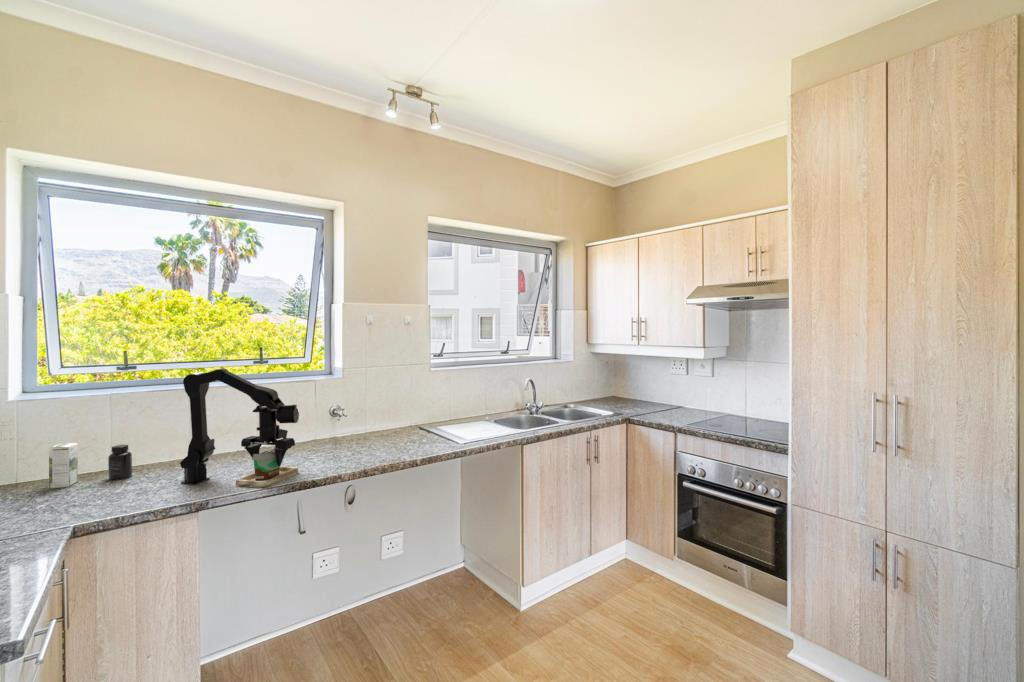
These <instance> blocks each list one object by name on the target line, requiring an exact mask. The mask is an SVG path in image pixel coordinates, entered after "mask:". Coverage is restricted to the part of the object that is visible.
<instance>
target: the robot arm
mask: <svg viewBox="0 0 1024 682" xmlns="http://www.w3.org/2000/svg"><path fill="white" fill-rule="evenodd" d="M216 381H219V382H221V383H223V384H225V385H227V386H229V387H231V388H233V389H235V390H237V391H239V392H241V393H244V394H245V395H247V396H248V397H250V399H251V401H253V402H255V403H256V404H257V405H256V407H255V408H254V409H253V410H252V413H258V426H257V427H256V431H258V432H259V433H258V435H257V436H256V435H251V436H247V437H244V438H242V440H241V441H240V444H241V447H244V450H246V451H247V453H248V454H249V455H250V457H251V458H252V459H253V454H260V449H261V447H262V445H265V446H274V447H276V448H277V449H275V454H276V461H277V465H278V466H281V465H282V463H283V461H284V457H285V455H286V452H287V451H288V450H289V449H291V448H292V447H294V446H295V445H296V440H295V439H294V438H293V437H288V432H289V431H288V430H287V429H282V428H280V425H279V424H297V423H298V421H299V417H300V412H299V410H298V408H297V407H298V406H297V404H287V405H286V404H285V403H284V402H283V401H282V399H280V397H279V394H278V392H277V390H275V389H273V388H270V387H266V386H261V385H257V384H255V383H252V382H251V381H249V380H247V379H245V378H243V377H241V376H239V375H237V374H235V373H233V372H231V371H229V370H227V368H222V367H221V368H217V369H214V370H212V371H211V370H210V371H208V372H202V371H201V372H194V373H189V374H187V375H185V377H184V378H183V381H182V383H183V387H184V392H185V393H186V395H187V397H188V398H189V407H190V408H189V409H190V422H191V423H190V424H191V440H190V442H189V445H188V447H187V455H186V456H185V457H184V458H183V459H182V460H181V461H180V462H179V464H180V467H181V469H184V471H183V472H184V473H183V474H184V479H183V480H182V481H180V484H182V485H186V484H187V485H198V484H200V482H201V483H203V482H206V481H208V480H210V479H211V478H210V477H208V476H207V475H208V473H207V471H208V470H207V463H206V462H208V461H209V460H210V458H211V456H212V455H213V454H214V451H215V450H216V446H215V438H210V436H209V435H208V421H207V403H206V396H207V393H208V391H209V388H210V383H213V382H216ZM277 422H278V423H279V424H277ZM184 483H185V484H184ZM197 483H198V484H197Z"/></svg>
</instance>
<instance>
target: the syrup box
mask: <svg viewBox="0 0 1024 682" xmlns="http://www.w3.org/2000/svg"><path fill="white" fill-rule="evenodd" d="M78 447H79V445H78V443H77V442H75V443H74V442H70V443H69V442H68V443H67V442H66V443H65V442H64V443H58V444H55V445H52V446H51V447H49V448H48V474H49V475H48V489H58V488H69V487H71V486H74V485H75V484H76V483H78V476H79V475H78V466H79V465H78V462H79V461H78Z"/></svg>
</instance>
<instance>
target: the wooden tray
mask: <svg viewBox="0 0 1024 682" xmlns="http://www.w3.org/2000/svg"><path fill="white" fill-rule="evenodd" d="M296 473H297V474H299V467H293V466H283V465H282V466H280V470H279V475H278V476H276V477H274V478H271V479H269V480H263V481H256V480H255V472H252V473H250V474H248V475H245V476H243V477H240V478H238V479H235V486H236V485H239V486H238V487H244V486H252V487H251V488H257V487H260V489H266V488H269V487H271V486H273V485H275V484H277V483H279V481H280V482H281V480H282V481H283V479H284V480H286V479H288V478H290V477H292V476H294V474H295V475H297V474H296ZM287 477H288V478H287ZM285 478H286V479H285Z"/></svg>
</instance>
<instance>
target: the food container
mask: <svg viewBox="0 0 1024 682" xmlns="http://www.w3.org/2000/svg"><path fill="white" fill-rule="evenodd" d="M275 449H277V448H276V447H275V446H274V448H273V449H271V450H265V451H263V452H261V453H259V454H253V459H252V461H253V465H254V466H253V468H254V473H255V480H256V481H263V480H269V479H271V478H274V477H276V476H278V475H279V470H280V466H278V465H277V461H276V454H275Z"/></svg>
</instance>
